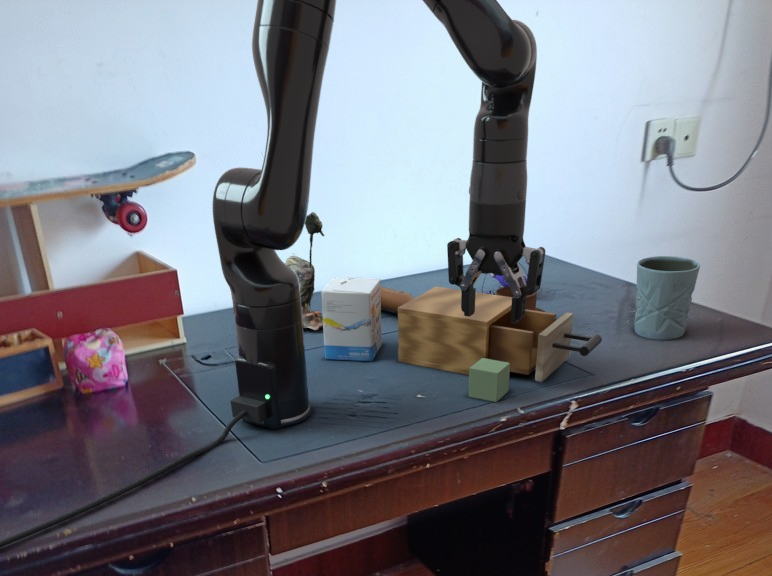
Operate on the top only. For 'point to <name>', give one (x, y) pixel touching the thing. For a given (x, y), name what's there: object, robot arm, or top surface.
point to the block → (489, 379)
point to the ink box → (352, 318)
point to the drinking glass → (664, 296)
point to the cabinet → (447, 329)
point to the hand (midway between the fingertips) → (492, 318)
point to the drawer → (536, 342)
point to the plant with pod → (307, 276)
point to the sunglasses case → (393, 299)
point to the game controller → (503, 280)
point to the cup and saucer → (529, 298)
